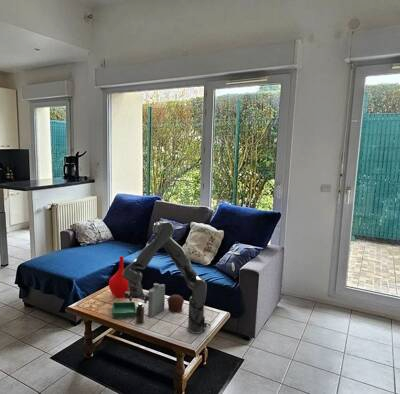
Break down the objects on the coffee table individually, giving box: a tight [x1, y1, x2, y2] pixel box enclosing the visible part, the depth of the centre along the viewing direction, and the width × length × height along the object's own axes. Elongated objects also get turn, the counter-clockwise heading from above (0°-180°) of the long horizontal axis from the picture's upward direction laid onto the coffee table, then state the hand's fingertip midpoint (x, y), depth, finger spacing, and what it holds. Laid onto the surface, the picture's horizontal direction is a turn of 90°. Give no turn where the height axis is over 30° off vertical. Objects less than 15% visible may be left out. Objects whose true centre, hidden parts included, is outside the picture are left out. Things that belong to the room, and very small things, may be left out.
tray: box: [112, 301, 137, 319], centre depth 229 cm, size 15×15×4 cm
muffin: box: [166, 294, 185, 313], centre depth 234 cm, size 12×11×10 cm
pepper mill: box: [135, 302, 145, 325], centre depth 216 cm, size 5×5×12 cm
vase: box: [108, 255, 129, 299], centre depth 253 cm, size 18×18×30 cm
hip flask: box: [147, 282, 166, 318], centre depth 229 cm, size 16×4×20 cm, turn 142°
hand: (138, 301), depth 204 cm, fingers open, 8 cm apart
